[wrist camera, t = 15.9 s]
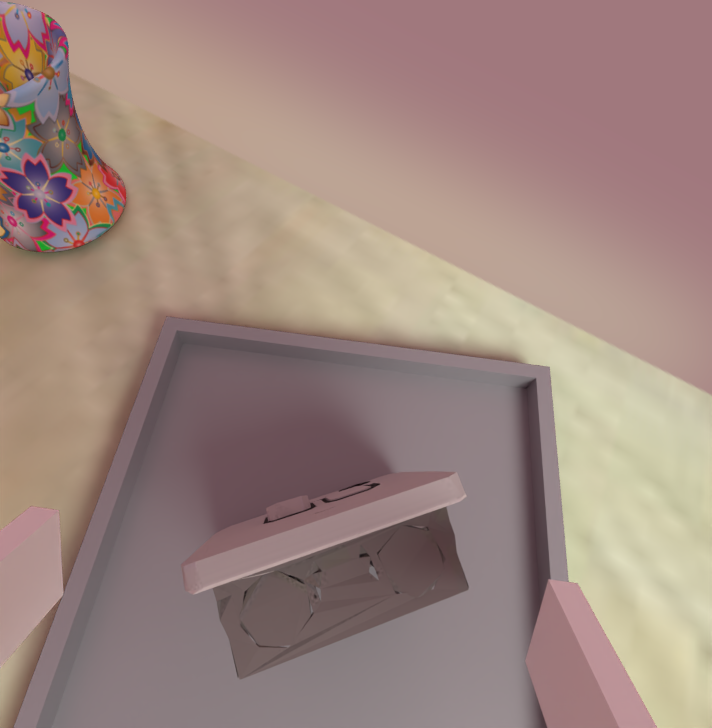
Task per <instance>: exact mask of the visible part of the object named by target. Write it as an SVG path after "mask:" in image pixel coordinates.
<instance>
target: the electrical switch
mask: <svg viewBox="0 0 712 728" xmlns="http://www.w3.org/2000/svg"><path fill="white" fill-rule="evenodd" d="M465 497H467V495H466V494H465V491H464V489H463V486H462V484H461V481H460V479H459V476H458V474H457V472H440V471H423V472H399V473H393V474H387V475H384V476H381V477H378V478H375V479H372V480H369V481H366V482H362V483H359V484H356V485H353V486H349V487H347V488H344V489H341V490H338V491H335V492H332V493H329V494H326V495H323V496H320V497H317V498H314V499H311V500H309V499H308V495H305V496H299V497H296V498H292V499H289V500H286V501H282V502H279V503H276V504H274V505H272V506H270V507H267V508H266V512H267V514H265V515H262V516H259V517H256V518H253V519H250V520H247V521H244V522H241V523H238V524H235V525H232V526H229V527H227V528H225V529H223V530H221V531H219V532H217V533H215V534H214V535H213V536H212V537H211V538H210V539H208V540H207V541H206V542H205V543H204V544H203V545H202V546H201V547H200V548H199V549H198V550H196V551H195V552H194V553H193V554H192V555H191V556H190V557H189V558H188V559H187V560H186V561H184V562H183V563H182V564H181V568H182V574H183V580H184V586H185V591H187V592H189V593H191V594H193V595H194V594H197V593H199V592H202V591H205V590H208V589H211V588H213V591H214V595H215V598H216V601H217V607H218V613H219V619H220V622H221V624H222V626H223V628H224V630H225V632H226V634H227V636H228V638H229V641H230V646H231V650H232V655H233V659H234V664H235V668H236V672H237V677H239V679H240V680H241V679H243V678H246V677H249V676H251V675H254V674H256V673H259V672H261V671H264V670H266V669H269V668H271V667H274V666H276V665H279V664H282V663H284V662H287V661H289V660H292V659H294V658H297V657H299V656H302V655H304V654H307V653H310V652H312V651H315V650H317V649H320V648H322V647H325V646H327V645H330V644H332V643H335V642H338V641H340V640H343V639H345V638H348V637H350V636H353V635H355V634H358V633H360V632H363V631H365V630H368V629H371V628H373V627H376V626H378V625H381V624H383V623H386V622H388V621H391V620H393V619H396V618H399V617H401V616H404V615H406V614H409V613H411V612H414V611H416V610H419V609H421V608H424V607H426V606H429V605H432V604H434V603H437V602H439V601H442V600H444V599H447V598H449V597H452V596H454V595H457V594H460V593H462V592H465V591H467V590H469V589H468V588H469V586H468V583H467V580H466V577H465V574H464V571H463V568H462V566H461V563H460V560H459V557H458V554H457V549H456V540H455V534H454V531H453V528H452V525H451V523H450V520H449V516H448V511H447V507H446V506H449V505H452V504H455V503H457V502H460V501H461V500H463V499H464V498H465ZM427 529H428V530H427ZM371 566H373V567H374V569H375V571H376V574H377V576H378V579H379V580H378V579H376V578H375V577H374V576H373V575H372V574H371V573H369V567H371ZM434 585H435V586H434ZM433 586H434V589H432V588H433ZM316 587H318V588H319V589H321V600H320V598H319V595H318V592H317V589H316ZM431 589H432V590H431ZM399 592H400V593H399ZM310 603H311V606H312V610H313V613H312V614H311V607H310ZM249 635H250V636H251V637H252V638H253V640H254V641H255V642H256V643H255V642H254V641H253V640H252V639H251V638H250V636H249ZM287 645H290V646H289V647H288V648H287V647H280V646H287Z"/></svg>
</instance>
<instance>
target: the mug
mask: <svg viewBox="0 0 712 728" xmlns="http://www.w3.org/2000/svg"><path fill="white" fill-rule="evenodd" d="M125 203H126V190H125V186H124V183H123V181H122V179H121V178H120V177H119V175H118V174H117V173H116V172H115V171H114V170H113V169H112V168H110V167H109V166H107V165H106V164H105V163H104V162H103V161H102V160H101V159H100V158H99V156H98V155H97V154H96V153H95V151H94V150H93V148H92V147H91V145H90V143H89V142H88V140H87V138H86V136H85V134H84V132H83V129H82V127H81V125H80V122H79V119H78V116H77V113H76V110H75V106H74V102H73V98H72V93H71V87H70V79H69V66H68V42H67V38H66V35H65V33H64V31H63V30H62V28H61V27H60V25H59V24H58V23H57V22H56V21H55V20H54V19H52V18H51V17H49V16H48V15H46V14H45V13H43V12H41V11H38V10H36V9H34V8H30V7H28V6H24V5H20V4H15V3H9V2H1V1H0V238H1V239H3V240H4V241H5V242H7V243H9V244H10V245H12V246H15V247H17V248H20V249H24V250H29V251H35V252H58V251H64V250H69V249H73V248H76V247H79V246H82V245H85V244H87V243H89V242H91V241H93V240H95V239H97V238H98V237H100V236H101V235H103V234H104V233H105V232H107V231H108V230H109V229H110V228H111V227H112V226H113V225H114V224H115V223H116V221H117V220H118V219H119V217H120V216H121V214H122V212H123V209H124V207H125Z"/></svg>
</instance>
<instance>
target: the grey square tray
mask: <svg viewBox="0 0 712 728" xmlns="http://www.w3.org/2000/svg"><path fill="white" fill-rule="evenodd" d="M423 471H440V472H457V474H458V476H459V479H460V481H461V484H462V486H463V489H464V491H465V494H466V495H467V497H465V498H464V499H463V500H461V501H460V502H457V503H455V504H452V505H449V506H446V507H447V511H448V516H449V520H450V523H451V525H452V528H453V531H454V534H455V540H456V549H457V554H458V557H459V560H460V563H461V566H462V568H463V571H464V574H465V577H466V580H467V583H468V586H469V588H468V589H469V590H467V591H465V592H462V593H460V594H457V595H454V596H452V597H449V598H447V599H444V600H442V601H439V602H437V603H434V604H432V605H429V606H426V607H424V608H421V609H419V610H416V611H414V612H411V613H409V614H406V615H404V616H401V617H399V618H396V619H393V620H391V621H388V622H386V623H383V624H381V625H378V626H376V627H373V628H371V629H368V630H365V631H363V632H360V633H358V634H355V635H353V636H350V637H348V638H345V639H343V640H340V641H338V642H335V643H332V644H330V645H327V646H325V647H322V648H320V649H317V650H315V651H312V652H310V653H307V654H304V655H302V656H299V657H297V658H294V659H292V660H289V661H287V662H284V663H282V664H279V665H276V666H274V667H271V668H269V669H266V670H264V671H261V672H259V673H256V674H254V675H251V676H249V677H246V678H243V679H241V680H240V679H239V677H237V672H236V668H235V664H234V659H233V655H232V650H231V646H230V641H229V638H228V636H227V634H226V632H225V630H224V628H223V626H222V624H221V622H220V619H219V613H218V607H217V601H216V598H215V595H214V591H213V588H211V589H208V590H205V591H202V592H199V593H197V594H194V595H193V594H191V593H189V592H187V591H185V586H184V580H183V574H182V568H181V564H182V563H183V562H184V561H186V560H187V559H188V558H189V557H190V556H191V555H192V554H193V553H194V552H195V551H196V550H198V549H199V548H200V547H201V546H202V545H203V544H204V543H205V542H206V541H207V540H208V539H210V538H211V537H212V536H213V535H214V534H215V533H217V532H219V531H221V530H223V529H225V528H227V527H229V526H232V525H235V524H238V523H241V522H244V521H247V520H250V519H253V518H256V517H259V516H262V515H265V514H267V512H266V508H267V507H270V506H272V505H274V504H276V503H279V502H282V501H286V500H289V499H292V498H296V497H299V496H305V495H308V499H309V500H311V499H314V498H317V497H320V496H323V495H326V494H329V493H332V492H335V491H338V490H341V489H344V488H347V487H349V486H353V485H356V484H359V483H362V482H366V481H369V480H372V479H375V478H378V477H381V476H384V475H387V474H393V473H399V472H423ZM427 530H428V529H427ZM369 573H371V574H372V575H373V576H374V577H375V578H376V579H378V576H377V574H376V571H375V569H374V567H373V566H371V567H369ZM548 579H550V580H558V581H565V582H569V581H568V570H567V559H566V547H565V536H564V525H563V513H562V502H561V491H560V479H559V468H558V457H557V445H556V434H555V423H554V411H553V400H552V389H551V377H550V367H546V366H539V365H531V364H524V363H516V362H509V361H501V360H493V359H486V358H478V357H471V356H463V355H455V354H448V353H440V352H433V351H425V350H418V349H410V348H402V347H395V346H387V345H380V344H372V343H365V342H357V341H349V340H342V339H334V338H327V337H319V336H311V335H304V334H296V333H289V332H281V331H274V330H266V329H258V328H251V327H243V326H236V325H228V324H221V323H213V322H205V321H198V320H190V319H183V318H175V317H166V319H165V322H164V325H163V327H162V330H161V333H160V335H159V338H158V341H157V344H156V346H155V349H154V352H153V354H152V357H151V360H150V362H149V365H148V368H147V370H146V373H145V376H144V378H143V381H142V384H141V386H140V389H139V392H138V395H137V397H136V400H135V403H134V405H133V408H132V411H131V413H130V416H129V419H128V421H127V424H126V427H125V429H124V432H123V435H122V438H121V440H120V443H119V446H118V448H117V451H116V454H115V456H114V459H113V462H112V464H111V467H110V470H109V472H108V475H107V478H106V480H105V483H104V486H103V489H102V491H101V494H100V497H99V499H98V502H97V505H96V507H95V510H94V513H93V515H92V518H91V521H90V523H89V526H88V529H87V531H86V534H85V537H84V540H83V542H82V545H81V548H80V550H79V553H78V556H77V558H76V561H75V564H74V566H73V569H72V572H71V574H70V577H69V580H68V582H67V585H66V588H65V591H64V593H63V596H62V599H61V601H60V604H59V607H58V609H57V612H56V615H55V617H54V620H53V623H52V625H51V628H50V631H49V633H48V636H47V639H46V642H45V644H44V647H43V650H42V652H41V655H40V658H39V660H38V663H37V666H36V668H35V671H34V674H33V676H32V679H31V682H30V684H29V687H28V690H27V693H26V695H25V698H24V701H23V703H22V706H21V709H20V711H19V714H18V717H17V719H16V722H15V725H14V727H13V728H547V725H546V722H545V719H544V716H543V713H542V710H541V707H540V704H539V701H538V698H537V695H536V692H535V689H534V686H533V683H532V680H531V677H530V674H529V671H528V668H527V665H526V662H525V660H526V656H527V653H528V649H529V646H530V642H531V639H532V635H533V632H534V628H535V625H536V621H537V618H538V614H539V611H540V607H541V604H542V600H543V597H544V593H545V590H546V586H547V583H548ZM378 580H379V579H378ZM434 586H435V585H434ZM434 586H433V588H432V589H434ZM316 589H317V592H318V595H319V598H320V600H321V589H319V588H318V587H316ZM432 589H431V590H432ZM399 593H400V592H399ZM310 607H311V614H312V613H313V610H312V606H311V603H310ZM249 636H250V635H249ZM250 638H251V639H252V640H253V638H252V637H251V636H250ZM253 641H254V640H253ZM254 642H255V641H254ZM255 643H256V642H255ZM289 646H290V645H287V646H280V647H287V648H288V647H289Z"/></svg>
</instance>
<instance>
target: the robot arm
mask: <svg viewBox="0 0 712 728" xmlns="http://www.w3.org/2000/svg"><path fill="white" fill-rule="evenodd" d="M62 596H63V576H62V556H61V537H60V518H59V510H54V509H47V508H40V507H33V506H31V507H29V508H28V509H27V510H26V511H24V512H23V513H22V514H21V515H19V516H18V517H17V518H16V519H14V520H13V521H12V522H10V523H9V524H8V525H7V526H5V527H4V528H3V529H2V530H0V668H1V667H2V665H3V664H4V663H5V662H6V661H7V660H8V658H9V657H10V656H11V655H12V654H13V653H14V651H15V650H16V649H17V648H18V647H19V646H20V645H21V643H22V642H23V641H24V640H25V639H26V638H27V636H28V635H29V634H30V633H31V632H32V631H33V629H34V628H35V627H36V626H37V625H38V624H39V623H40V621H41V620H42V619H43V618H44V617H45V616H46V614H47V613H48V612H49V611H50V610H51V609H52V608H53V606H54V605H55V604H56V603H57V602H58V601H59V599H60V598H61V597H62ZM525 662H526V665H527V668H528V671H529V674H530V677H531V680H532V683H533V686H534V689H535V692H536V695H537V698H538V701H539V704H540V707H541V710H542V713H543V716H544V719H545V722H546V725H547V728H657V726H656V725H655V723H654V721H653V719H652V717H651V715H650V714H649V712H648V710H647V708H646V706H645V705H644V703H643V701H642V699H641V697H640V696H639V694H638V692H637V690H636V688H635V687H634V685H633V683H632V681H631V679H630V677H629V676H628V674H627V672H626V670H625V668H624V667H623V665H622V663H621V661H620V659H619V658H618V656H617V654H616V652H615V650H614V649H613V647H612V645H611V643H610V641H609V639H608V638H607V636H606V634H605V632H604V630H603V629H602V627H601V625H600V623H599V621H598V620H597V618H596V616H595V614H594V612H593V611H592V609H591V607H590V605H589V603H588V601H587V600H586V598H585V596H584V594H583V592H582V591H581V589H580V587H579V585H578V583H572V582H565V581H558V580H550V579H548V583H547V586H546V590H545V593H544V597H543V600H542V604H541V607H540V611H539V614H538V618H537V621H536V625H535V628H534V632H533V635H532V639H531V642H530V646H529V649H528V653H527V656H526V660H525Z"/></svg>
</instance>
